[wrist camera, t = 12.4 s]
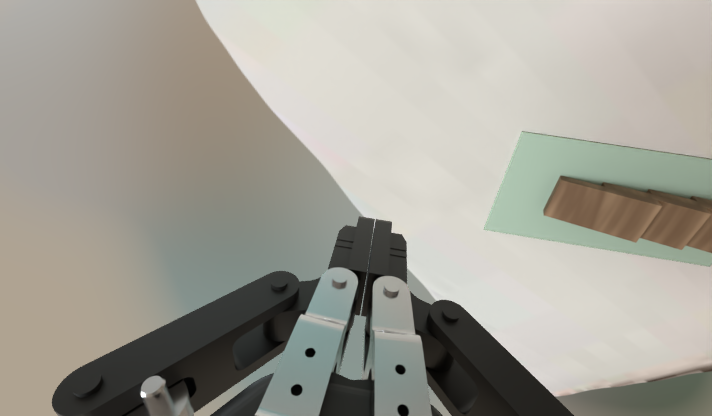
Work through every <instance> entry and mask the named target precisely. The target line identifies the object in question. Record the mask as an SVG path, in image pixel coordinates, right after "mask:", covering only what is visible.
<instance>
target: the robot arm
mask: <svg viewBox="0 0 712 416" xmlns="http://www.w3.org/2000/svg"><path fill="white" fill-rule="evenodd" d="M374 220H375V219H372V218H366V217H359V219H358V223H357V227H352V226H345V227H343V228H342V229H341V230H340V231H339V234H338V237H337V240H336V244H335V247H334V251H333V254H332V257H331V261H330V264H329V267H328V270H327V271H325V272H324V273H323V275H322V277H320V278H318V279H316V280H312V281H301V282H299V280H298V278H297V277H296V276H295V275H293V274H292V273H289V272H286V271H276V272H273V273H270V274H268V275H266V276H264V277H262V278H260V279H258V280H255V281H254V282H251V283H249V284H247V285H245V286H243V287H242V288H239V289H237V290H236V291H233V292H231V293H229V294H227V295H225V296H223V297H221V298H219V299H217V300H215V301H213V302H211V303H209V304H207V305H205V306H203V307H201V308H199V309H197V310H195V311H193V312H191V313H189V314H187V315H185V316H183V317H181V318H179V319H177V320H175V321H173V322H171V323H169V324H167V325H165V326H163V327H161V328H159V329H156V330H155V331H153V332H150V333H149V334H146V335H144V336H142V337H140V338H139V339H136V340H134V341H132V342H130V343H128V344H126V345H124V346H122V347H120V348H118V349H116V350H114V351H112V352H110V353H108V354H106V355H104V356H102V357H100V358H98V359H96V360H94V361H92V362H90V363H88V364H86V365H84V366H82V367H80V368H78V369H77V370H75V371H74V372H72V373H71V374H70V375H68V376H67V377H66V378H65V379H64V380H63V381H62V382H61V383H60V385H59V386H58V387H57V389H56V391H55V393H54V395H53V398H52V406H53V408H54V411H55V412H56V413H57V415H58V416H194V413H195V412H196V411H198V410H199V409H201V408H202V407H203V406H205V405H206V404H208V403H209V402H210V401H212V400H214V399H215V398H216V397H218V396H219V395H221V394H222V393H224V392H225V391H227V390H228V389H230V388H231V387H232V386H234V385H235V384H237V383H238V382H240V381H241V380H243V379H244V378H245V377H247V376H248V375H250V374H251V373H253V372H254V371H256V370H257V369H258V368H260V367H261V366H263V365H264V364H265V363H267V362H268V361H270V360H271V359H273V358H274V357H276V356H277V355H279V354H280V353H282V352H283V351H284V352H283V354H282V357H281V359H280V361H279V363H278V366H277V368H276V370H275V372H274V373H273V374H270V375H267V376H265V377H263V378H261V379H259V380H257V381H256V382H254V383H252V384H251V385H250V386H248V387H247V388H246V389H244V390H243V391H242V392H240V393H239V394H238V395H237V396H235V397H234V398H233V399H231V400H230V401H229V402H227V403H226V404H225V405H223V406H222V407H221V408H220V409H218V410H217V411H215V412H214V413H213V414H212V415H210V416H442V414H441V413H440V412H439V411H438V410H437V409H436V408H434V406H432V405H431V404H430V398H429V391H428V385H429V386H430V387H431V389H432V390H433V391H434V393H435V394H436V395H437V397H438V398H439V399H440V401H441V402H442V403H443V405H444V406H445V407H446V409H447V410H448V411H449V413H450V414H451V415H452V416H574V415H573V414H572V413H571V412H570V411H569V410H568V409H567V408H566V407H565V406H563V404H562V403H560V401H559V400H557V399H556V398H555V397H554V396H553V395H552V394H551V393H550V392H549V391H548V390H547V389H546V388H545V387H544V386H543V385H542V384H541V383H540V382H539V381H538V380H537V379H536V378H535V377H534V376H533V375H532V374H531V373H530V372H529V371H528V370H527V369H526V368H525V367H524V366H522V365H521V364H520V363H519V362H518V361H517V360H516V359H515V358H514V357H513V356H512V355H511V354H510V353H509V352H508V351H507V350H506V349H505V348H504V347H503V346H502V345H501V344H500V343H499V342H498V341H497V340H496V339H495V338H494V337H493V336H492V335H491V334H490V333H488V332H487V331H486V330H485V329H484V328H483V327H482V326H481V325H480V324H479V323H478V322H477V321H476V320H475V319H474V318H473V317H472V316H471V315H470V314H469V313H468V312H467V311H466V310H465V309H464V308H463V307H461V306H460V305H459V304H457V303H455V302H452V301H449V300H439V301H436V302H434V303H433V304H432V305H430V304H429V303H426V302H424V301H422V300H420V299H418V298H417V297H416V296H414V295H413V294H412V293H411V291H410V290H409V287H408V286H407V259H406V257H407V252H406V251H407V248H406V241H405V239H404V237H403V236H402V234H395V233H391V228H392V222H390V221H384V220H378V219H376V222H375V228H374V233H373V227H374ZM372 234H373V239H372ZM371 241H372V245H371ZM370 248H371V251H370ZM369 255H370V257H369ZM368 262H369V264H368ZM367 269H368V271H367ZM366 275H367V278H366ZM365 281H366V285H365ZM364 287H365V293H364ZM363 293H364V300H363V307H362V314H361V316H366V325H365V329H364V336H363V363H362V380H350V379H348V378H345V377H343V376H341V375H339V373H340V369H341V366H342V362H343V358H344V354H345V350H346V346H347V343H348V339H349V335H350V330H351V328H352V326H353V322H354V316H355V315H360V310H361V304H362V298H363Z"/></svg>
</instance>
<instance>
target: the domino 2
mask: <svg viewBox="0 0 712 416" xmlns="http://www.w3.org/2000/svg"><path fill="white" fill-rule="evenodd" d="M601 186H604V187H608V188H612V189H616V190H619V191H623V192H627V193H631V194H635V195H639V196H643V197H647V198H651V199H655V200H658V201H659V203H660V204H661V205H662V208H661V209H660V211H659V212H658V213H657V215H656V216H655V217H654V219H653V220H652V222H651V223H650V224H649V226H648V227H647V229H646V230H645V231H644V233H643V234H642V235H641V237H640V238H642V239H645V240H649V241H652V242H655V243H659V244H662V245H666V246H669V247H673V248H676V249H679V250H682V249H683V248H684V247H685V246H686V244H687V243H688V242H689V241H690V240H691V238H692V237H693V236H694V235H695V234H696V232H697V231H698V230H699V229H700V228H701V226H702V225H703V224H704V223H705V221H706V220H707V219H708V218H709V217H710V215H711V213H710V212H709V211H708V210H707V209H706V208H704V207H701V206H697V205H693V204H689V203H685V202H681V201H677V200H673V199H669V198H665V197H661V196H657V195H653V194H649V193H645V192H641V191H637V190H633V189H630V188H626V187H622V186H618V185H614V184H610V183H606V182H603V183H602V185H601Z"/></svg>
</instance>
